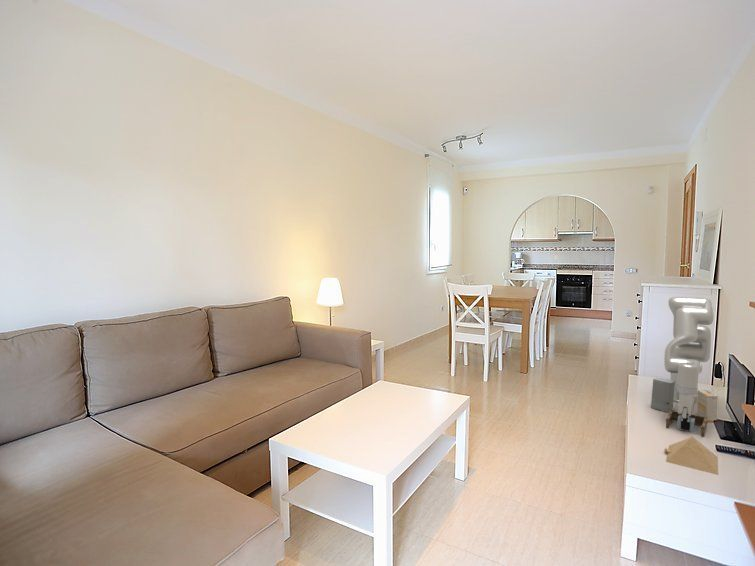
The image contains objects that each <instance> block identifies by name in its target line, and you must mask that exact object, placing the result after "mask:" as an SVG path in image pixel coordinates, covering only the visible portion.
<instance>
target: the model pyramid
mask: <svg viewBox="0 0 755 566" xmlns="http://www.w3.org/2000/svg"><path fill="white" fill-rule="evenodd" d="M664 455H666V458H665V462H666V463H670V464H674V465H678V466H681V467H685V468H689V469H692V470H696V471H701V472H705V473H708V474H709V473H710V474H712V475H716V476H719V457H718V455H717V454H715V453H714V452H713V451H711V450H710V449H709V448H707V447H706V446H705V445H704V444H703V443H702V442H700V441H699V440H698V439H696V437H694V436H690V437H688V438H685V439H683V440H680V441H676V442H674V443H671V444H669V445H668V448H667V447H664Z"/></svg>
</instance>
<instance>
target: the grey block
mask: <svg viewBox="0 0 755 566" xmlns="http://www.w3.org/2000/svg"><path fill="white" fill-rule="evenodd" d="M687 418H688V417H687ZM681 420H682V416H681V415H679V416H678V421H676V422H677V425H676V426H677V427H676V428H677V429H678V430H682V431H684V430H683V429H681ZM689 422H690V430H689V431H688V430H685V431H686V432H690V433H694V432H695V428H696V425H695V418H690V417H689Z"/></svg>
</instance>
